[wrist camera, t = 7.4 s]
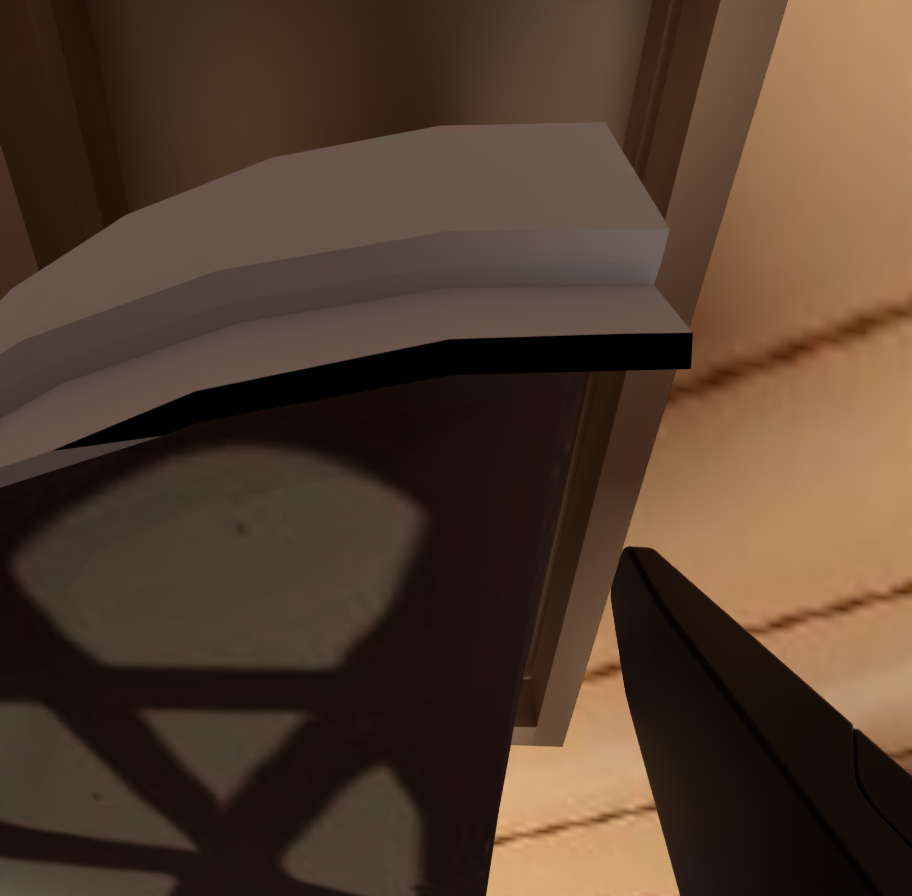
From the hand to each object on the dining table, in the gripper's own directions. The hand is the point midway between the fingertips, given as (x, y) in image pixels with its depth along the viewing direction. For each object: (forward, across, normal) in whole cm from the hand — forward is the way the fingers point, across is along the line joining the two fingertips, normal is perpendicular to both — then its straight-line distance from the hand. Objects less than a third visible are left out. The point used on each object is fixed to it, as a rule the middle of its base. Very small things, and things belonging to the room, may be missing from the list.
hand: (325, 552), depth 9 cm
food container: (+5, +1, 0) cm, 5 cm away
